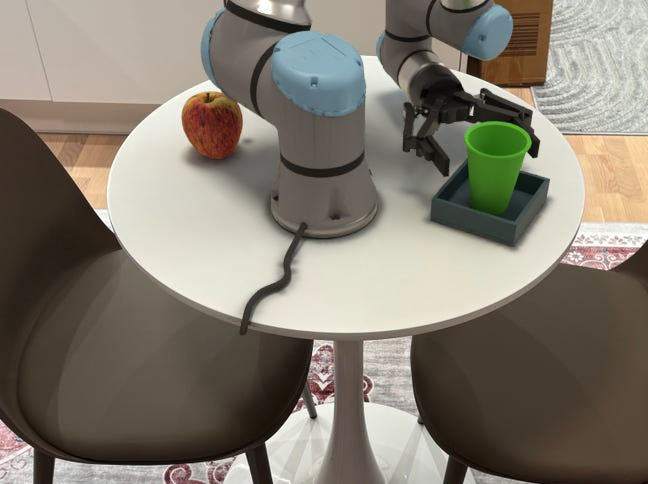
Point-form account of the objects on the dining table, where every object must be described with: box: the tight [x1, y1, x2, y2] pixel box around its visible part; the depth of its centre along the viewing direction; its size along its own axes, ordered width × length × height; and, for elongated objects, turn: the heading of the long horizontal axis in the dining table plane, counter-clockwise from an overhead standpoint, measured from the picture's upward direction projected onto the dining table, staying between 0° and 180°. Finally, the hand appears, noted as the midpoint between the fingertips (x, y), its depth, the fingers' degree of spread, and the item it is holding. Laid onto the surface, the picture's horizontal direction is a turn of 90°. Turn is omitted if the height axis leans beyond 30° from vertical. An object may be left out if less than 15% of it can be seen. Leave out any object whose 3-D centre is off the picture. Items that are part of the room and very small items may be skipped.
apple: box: [180, 90, 244, 160], centre depth 128 cm, size 9×9×10 cm
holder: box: [429, 157, 551, 247], centre depth 120 cm, size 13×13×4 cm
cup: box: [463, 121, 531, 216], centre depth 117 cm, size 9×9×11 cm
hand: (492, 158), depth 116 cm, fingers open, 13 cm apart
